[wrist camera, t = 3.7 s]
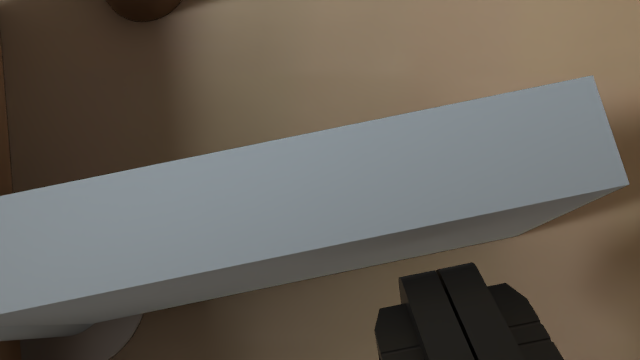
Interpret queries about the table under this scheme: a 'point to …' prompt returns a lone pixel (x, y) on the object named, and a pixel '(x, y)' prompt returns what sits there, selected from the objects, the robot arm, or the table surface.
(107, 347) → the frame rail
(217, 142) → the table surface
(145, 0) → the stop post
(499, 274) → the table surface
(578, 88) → the grey pivot lever
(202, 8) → the table surface
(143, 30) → the table surface
